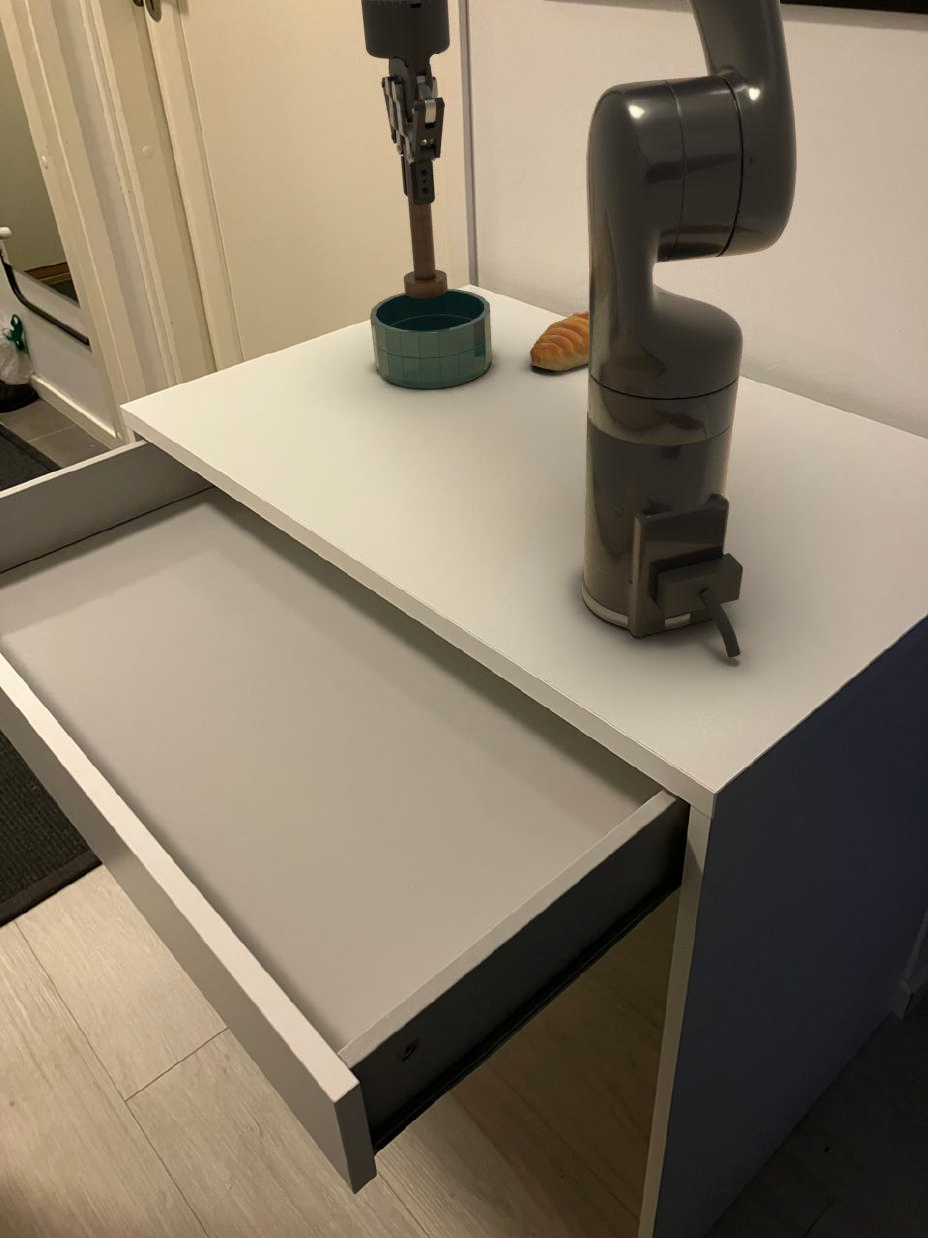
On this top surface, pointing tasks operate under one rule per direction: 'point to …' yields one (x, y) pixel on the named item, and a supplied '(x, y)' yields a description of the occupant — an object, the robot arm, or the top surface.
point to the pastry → (563, 344)
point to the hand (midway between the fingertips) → (419, 198)
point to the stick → (422, 251)
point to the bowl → (432, 339)
